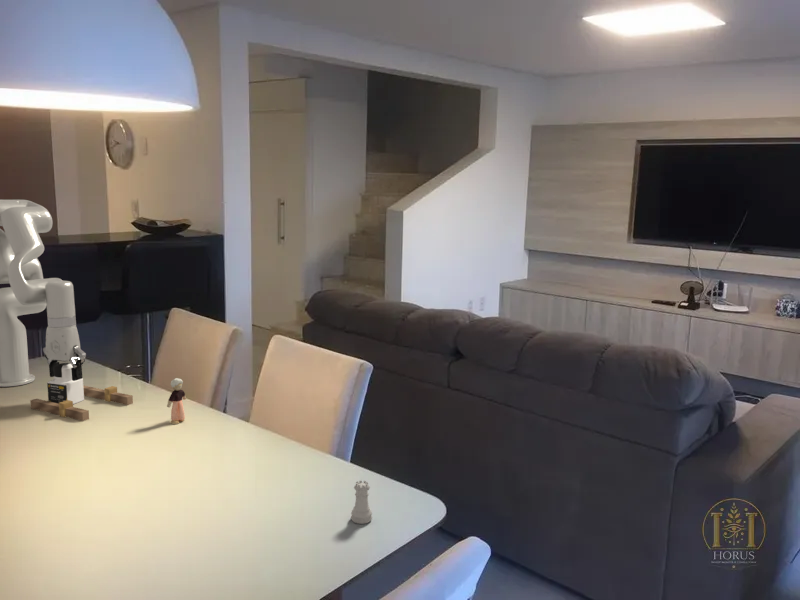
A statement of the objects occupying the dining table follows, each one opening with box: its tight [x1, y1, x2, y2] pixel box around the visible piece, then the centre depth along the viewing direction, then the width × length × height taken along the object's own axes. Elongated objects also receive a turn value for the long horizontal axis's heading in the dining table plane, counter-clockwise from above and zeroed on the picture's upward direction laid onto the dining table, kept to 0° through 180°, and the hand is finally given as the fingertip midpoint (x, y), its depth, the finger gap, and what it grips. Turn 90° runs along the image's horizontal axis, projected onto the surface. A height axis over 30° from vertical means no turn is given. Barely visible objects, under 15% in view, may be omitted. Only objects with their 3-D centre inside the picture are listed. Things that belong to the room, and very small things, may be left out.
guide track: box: [30, 384, 134, 422], centre depth 207 cm, size 22×19×4 cm
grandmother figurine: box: [166, 377, 187, 425], centre depth 195 cm, size 8×4×13 cm, turn 171°
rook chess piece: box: [350, 479, 373, 525], centre depth 141 cm, size 4×4×8 cm
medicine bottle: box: [46, 362, 85, 405], centre depth 209 cm, size 7×7×12 cm
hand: (66, 377), depth 209 cm, fingers open, 9 cm apart
